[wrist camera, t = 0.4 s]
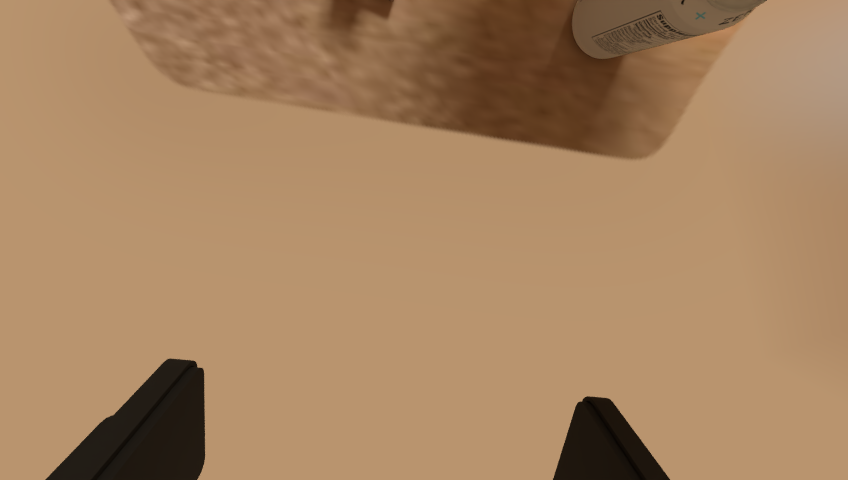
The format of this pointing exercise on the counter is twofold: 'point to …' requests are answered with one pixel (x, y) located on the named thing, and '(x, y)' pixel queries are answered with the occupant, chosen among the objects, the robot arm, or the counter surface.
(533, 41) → the counter surface
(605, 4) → the energy drink can
